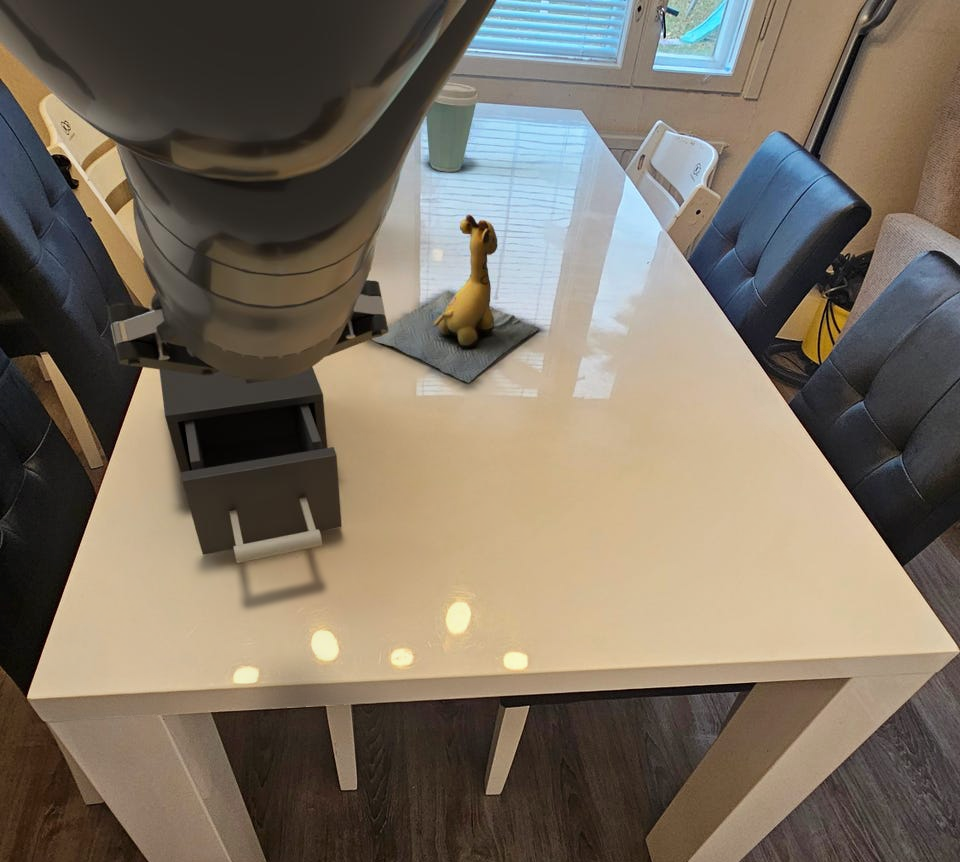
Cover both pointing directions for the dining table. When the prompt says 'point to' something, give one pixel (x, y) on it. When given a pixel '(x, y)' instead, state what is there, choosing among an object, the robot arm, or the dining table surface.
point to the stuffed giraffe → (461, 319)
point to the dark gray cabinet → (232, 401)
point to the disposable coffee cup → (450, 126)
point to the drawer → (260, 482)
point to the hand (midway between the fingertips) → (254, 365)
